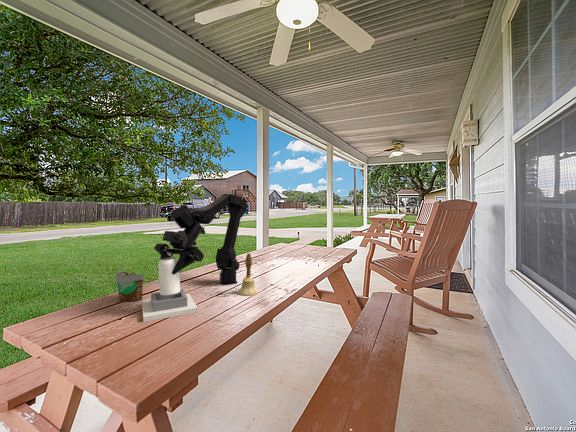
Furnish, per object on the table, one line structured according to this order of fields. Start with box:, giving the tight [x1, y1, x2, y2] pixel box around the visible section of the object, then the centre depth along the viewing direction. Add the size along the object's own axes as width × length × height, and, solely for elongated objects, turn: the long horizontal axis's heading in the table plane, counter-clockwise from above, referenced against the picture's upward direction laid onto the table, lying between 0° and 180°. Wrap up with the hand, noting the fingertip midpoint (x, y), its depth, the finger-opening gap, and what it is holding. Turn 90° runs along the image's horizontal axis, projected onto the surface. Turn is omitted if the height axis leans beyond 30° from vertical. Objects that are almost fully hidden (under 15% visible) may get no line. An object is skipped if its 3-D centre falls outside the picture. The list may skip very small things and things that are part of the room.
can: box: [157, 256, 181, 296], centre depth 94 cm, size 6×6×12 cm
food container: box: [114, 269, 145, 303], centre depth 102 cm, size 12×6×10 cm, turn 62°
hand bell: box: [237, 252, 259, 297], centre depth 112 cm, size 8×8×16 cm
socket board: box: [141, 288, 199, 323], centre depth 95 cm, size 16×16×4 cm
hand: (165, 272), depth 93 cm, fingers closed on can, 6 cm apart
